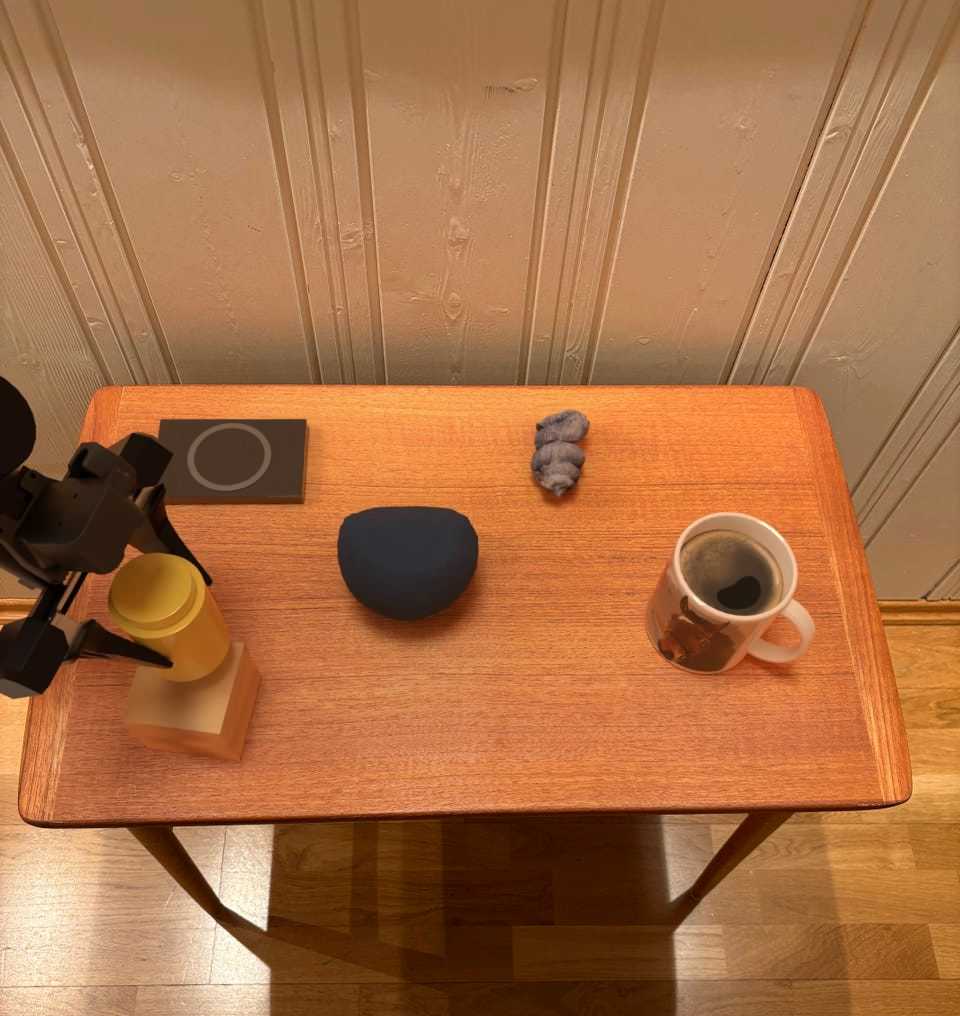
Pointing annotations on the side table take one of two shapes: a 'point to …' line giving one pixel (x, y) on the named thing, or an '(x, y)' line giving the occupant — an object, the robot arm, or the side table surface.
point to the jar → (170, 614)
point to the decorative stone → (407, 559)
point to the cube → (196, 708)
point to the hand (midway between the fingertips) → (190, 624)
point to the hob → (235, 460)
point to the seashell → (559, 451)
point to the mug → (726, 596)
